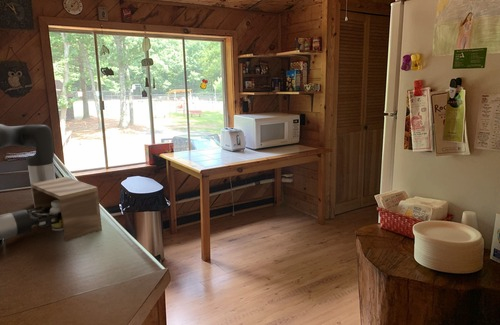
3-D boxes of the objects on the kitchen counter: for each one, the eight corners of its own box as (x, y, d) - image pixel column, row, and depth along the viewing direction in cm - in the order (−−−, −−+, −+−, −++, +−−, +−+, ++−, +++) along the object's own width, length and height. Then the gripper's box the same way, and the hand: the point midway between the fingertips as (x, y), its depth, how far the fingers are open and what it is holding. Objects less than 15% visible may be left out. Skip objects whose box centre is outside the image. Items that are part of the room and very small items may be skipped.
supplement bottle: (62, 231, 121) (58, 204, 119) (48, 230, 123) (44, 203, 120) (73, 225, 127) (69, 199, 125) (59, 224, 128) (56, 198, 126)
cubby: (37, 224, 128) (30, 183, 124) (70, 215, 137) (65, 176, 134) (66, 241, 114) (60, 196, 110) (102, 229, 123) (97, 187, 119)
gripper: (17, 218, 107) (72, 204, 119) (1, 208, 116) (53, 196, 128) (21, 241, 109) (74, 225, 121) (5, 230, 118) (56, 215, 130)
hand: (63, 210), depth 125 cm, fingers open, 8 cm apart
